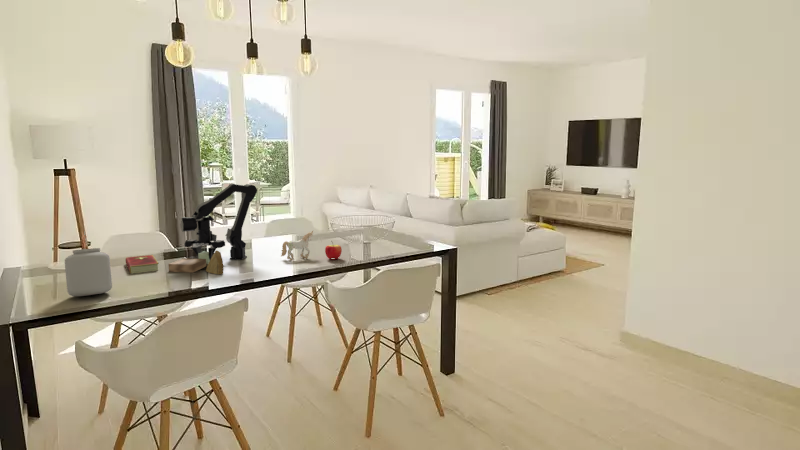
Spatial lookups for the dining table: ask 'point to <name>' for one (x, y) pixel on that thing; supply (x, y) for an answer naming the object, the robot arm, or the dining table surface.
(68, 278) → the jar
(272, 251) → the dining table surface
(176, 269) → the walnut block
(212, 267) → the brown tan chunky block
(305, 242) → the unicorn figurine
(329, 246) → the apple
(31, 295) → the dining table surface
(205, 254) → the green cube
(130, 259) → the hardcover book
